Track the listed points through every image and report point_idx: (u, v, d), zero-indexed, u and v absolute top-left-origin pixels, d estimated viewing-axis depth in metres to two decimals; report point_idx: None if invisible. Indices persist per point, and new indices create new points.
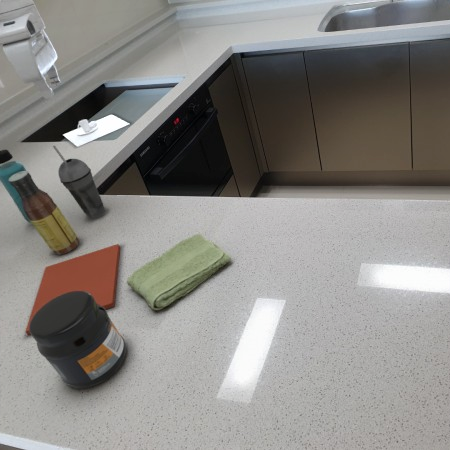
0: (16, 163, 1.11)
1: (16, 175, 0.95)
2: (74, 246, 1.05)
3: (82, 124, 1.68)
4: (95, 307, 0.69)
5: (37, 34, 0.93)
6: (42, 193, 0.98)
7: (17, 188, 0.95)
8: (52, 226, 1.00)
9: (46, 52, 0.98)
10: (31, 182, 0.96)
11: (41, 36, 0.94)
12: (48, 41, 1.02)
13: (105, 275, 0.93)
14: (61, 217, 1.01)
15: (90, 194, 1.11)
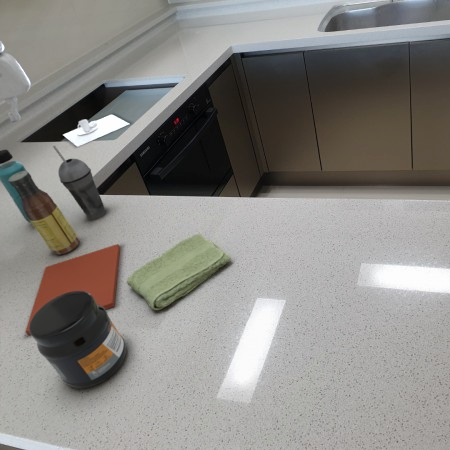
0: (16, 163, 1.11)
1: (16, 175, 0.95)
2: (74, 246, 1.05)
3: (82, 124, 1.68)
4: (95, 307, 0.69)
5: None
6: (42, 193, 0.98)
7: (17, 188, 0.95)
8: (52, 226, 1.00)
9: None
10: (31, 182, 0.96)
11: None
12: None
13: (105, 275, 0.93)
14: (61, 217, 1.01)
15: (90, 194, 1.11)
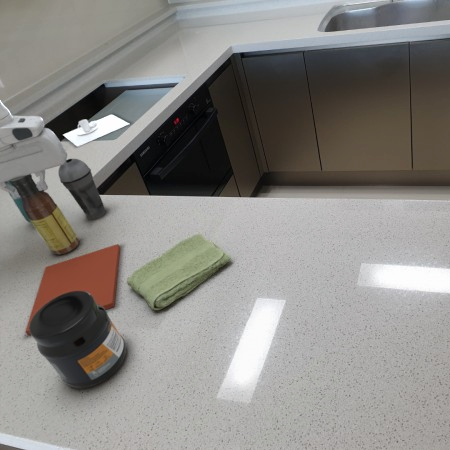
0: None
1: None
2: (74, 246, 1.05)
3: (82, 124, 1.68)
4: (95, 307, 0.69)
5: None
6: (42, 193, 0.98)
7: (18, 188, 0.95)
8: (52, 225, 1.00)
9: None
10: (32, 182, 0.96)
11: None
12: None
13: (105, 275, 0.93)
14: (61, 217, 1.01)
15: (90, 194, 1.11)
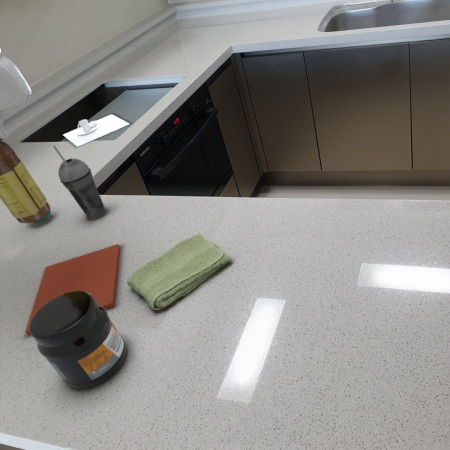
0: None
1: None
2: (44, 213, 0.84)
3: (82, 124, 1.68)
4: (95, 307, 0.69)
5: None
6: (1, 143, 0.77)
7: None
8: (14, 185, 0.79)
9: None
10: None
11: None
12: None
13: (105, 275, 0.93)
14: (26, 175, 0.81)
15: (90, 194, 1.11)
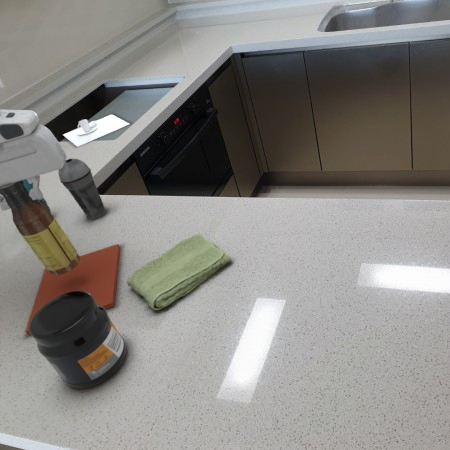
0: None
1: None
2: (74, 265, 0.89)
3: (82, 124, 1.68)
4: (95, 307, 0.69)
5: None
6: (37, 203, 0.82)
7: (6, 197, 0.78)
8: (48, 241, 0.83)
9: None
10: (23, 190, 0.79)
11: None
12: None
13: (105, 275, 0.93)
14: (59, 231, 0.85)
15: (90, 194, 1.11)
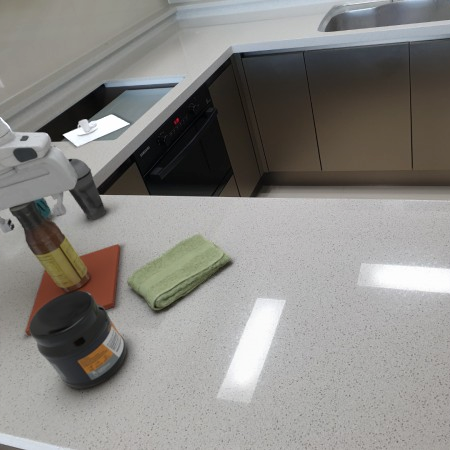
0: None
1: None
2: (85, 282, 0.91)
3: (82, 124, 1.68)
4: (95, 307, 0.69)
5: None
6: (48, 223, 0.84)
7: (19, 218, 0.81)
8: (60, 260, 0.86)
9: None
10: (36, 211, 0.82)
11: None
12: None
13: (105, 275, 0.93)
14: (70, 249, 0.88)
15: (90, 194, 1.11)
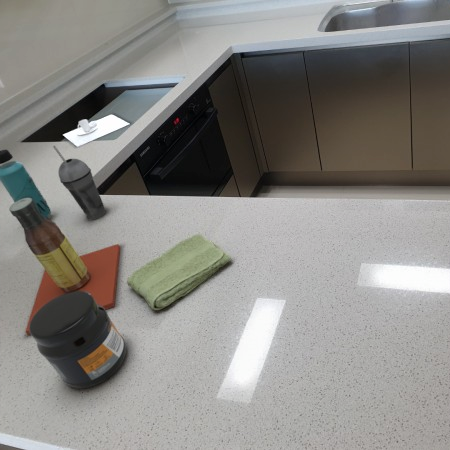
0: (16, 163, 1.11)
1: (18, 203, 0.81)
2: (85, 282, 0.91)
3: (82, 124, 1.68)
4: (95, 307, 0.69)
5: None
6: (48, 223, 0.84)
7: (19, 218, 0.81)
8: (60, 260, 0.86)
9: None
10: (36, 211, 0.82)
11: None
12: None
13: (105, 275, 0.93)
14: (70, 249, 0.88)
15: (90, 194, 1.11)
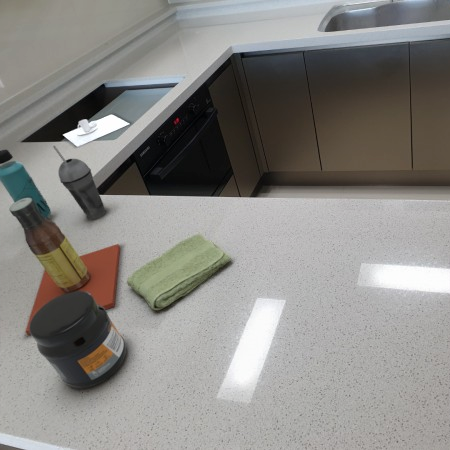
0: (16, 163, 1.11)
1: (18, 203, 0.81)
2: (85, 282, 0.91)
3: (82, 124, 1.68)
4: (95, 307, 0.69)
5: None
6: (48, 223, 0.84)
7: (19, 218, 0.81)
8: (60, 260, 0.86)
9: None
10: (36, 211, 0.82)
11: None
12: None
13: (105, 275, 0.93)
14: (70, 249, 0.88)
15: (90, 194, 1.11)
